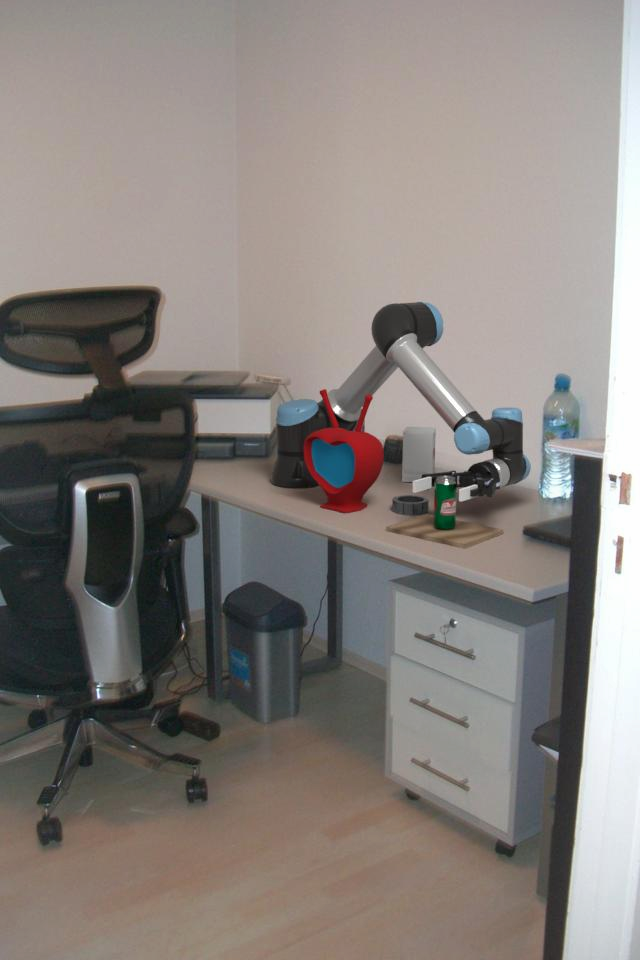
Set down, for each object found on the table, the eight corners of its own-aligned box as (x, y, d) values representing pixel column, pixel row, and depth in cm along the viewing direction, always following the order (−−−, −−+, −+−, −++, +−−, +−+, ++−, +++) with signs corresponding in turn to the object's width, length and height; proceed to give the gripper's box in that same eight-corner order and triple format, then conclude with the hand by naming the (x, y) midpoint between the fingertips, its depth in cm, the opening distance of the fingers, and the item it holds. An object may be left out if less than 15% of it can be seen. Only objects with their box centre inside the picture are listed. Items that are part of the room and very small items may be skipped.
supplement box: (432, 483, 272) (433, 432, 269) (401, 482, 274) (402, 431, 271) (435, 477, 281) (436, 427, 278) (405, 475, 283) (405, 426, 280)
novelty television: (299, 504, 249) (298, 390, 242) (333, 496, 258) (333, 385, 251) (358, 518, 234) (359, 397, 228) (392, 509, 243) (393, 392, 237)
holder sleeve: (385, 511, 242) (385, 499, 241) (406, 504, 248) (406, 493, 248) (414, 517, 236) (414, 505, 235) (435, 510, 242) (435, 498, 242)
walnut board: (386, 530, 224) (386, 526, 224) (425, 517, 235) (426, 513, 235) (465, 548, 209) (465, 544, 209) (503, 533, 221) (503, 529, 221)
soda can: (441, 531, 219) (443, 481, 216) (429, 526, 223) (430, 476, 221) (459, 529, 221) (461, 478, 218) (447, 523, 226) (448, 474, 223)
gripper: (530, 498, 226) (481, 515, 210) (445, 483, 242) (394, 498, 226) (532, 467, 224) (482, 482, 209) (446, 454, 240) (394, 467, 225)
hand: (436, 491), depth 217 cm, fingers open, 12 cm apart
